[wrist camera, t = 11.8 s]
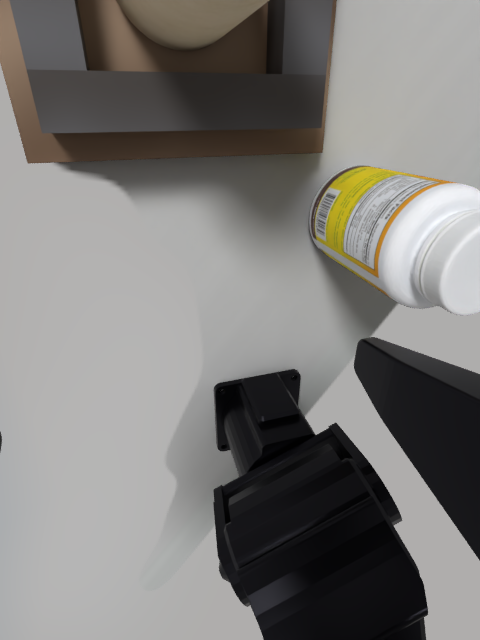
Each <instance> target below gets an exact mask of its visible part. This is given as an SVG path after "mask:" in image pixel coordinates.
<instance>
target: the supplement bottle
mask: <svg viewBox="0 0 480 640" xmlns="http://www.w3.org/2000/svg"><path fill="white" fill-rule="evenodd" d="M309 226H310V232H311V236H312V238H313V241H314V242H315V244H316V246H317V247H318V248H319V249H320V250H321V251H322V252H323V253H324V254H326V255H327V256H329V257H330V258H332V259H333V260H334V261H336V262H338V263H339V264H341V265H342V266H344V267H345V268H346V269H348V270H349V271H351V272H352V273H354V274H356V275H357V276H359V277H360V278H362V279H363V280H365V281H366V282H368V283H369V284H371V285H372V286H374V287H375V288H377V289H378V290H379V291H381V292H382V293H384V294H385V295H387V296H388V297H390V298H391V299H393V300H394V301H396V302H398V303H400V304H402V305H404V306H407V307H412V308H430V307H434V306H440V307H442V308H444V309H445V310H447V311H449V312H450V313H453V314H456V315H462V316H463V315H473V314H476V313H479V312H480V191H479V190H478V189H476V188H474V187H471V186H468V185H464V184H460V183H455V182H449V181H444V180H438V179H433V178H428V177H423V176H417V175H412V174H407V173H402V172H396V171H391V170H385V169H380V168H375V167H370V166H353V167H349V168H346V169H343V170H341V171H339V172H337V173H336V174H334V175H333V176H332V177H330V178H329V179H328V180H327V181H326V182H325V183H324V184H323V185H322V187H321V188H320V189H319V191H318V193H317V194H316V196H315V198H314V201H313V203H312V206H311V210H310V216H309Z"/></svg>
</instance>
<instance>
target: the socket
mask: <svg viewBox="0 0 480 640" xmlns="http://www.w3.org/2000/svg"><path fill="white" fill-rule="evenodd" d="M336 1H337V0H269V1H268V2H267V3H265V4H264V5H263V6H261V7H260V8H259V9H258V10H256V11H255V12H254V13H252V14H251V15H250V16H249V17H247V18H246V19H245V20H243V21H242V22H241V23H240V24H238V25H237V26H236V27H234V28H233V29H232V30H231V31H229V32H228V33H227V34H225V35H224V36H223V37H222V38H220V39H219V40H217V41H216V42H214V43H212V44H211V45H209V46H207V47H204V48H201V49H198V50H193V51H180V50H173V49H170V48H167V47H164V46H162V45H160V44H157V43H156V42H154V41H152V40H151V39H149V38H148V37H146V36H145V35H144V34H143V33H142V32H140V31H139V30H138V29H137V28H136V27H135V26H134V25H133V24H132V22H131V21H130V20H129V19H128V17H127V16H126V15H125V13H124V12H123V10H122V9H121V7H120V5H119V4H118V2H117V0H0V63H1V66H2V70H3V74H4V78H5V81H6V85H7V88H8V92H9V96H10V100H11V103H12V107H13V111H14V114H15V118H16V122H17V125H18V129H19V132H20V136H21V140H22V144H23V148H24V151H25V155H26V159H27V162H28V163H51V162H79V161H106V160H133V159H160V158H188V157H215V156H242V155H269V154H297V153H322V150H323V140H324V129H325V118H326V108H327V97H328V86H329V76H330V65H331V54H332V44H333V33H334V22H335V12H336Z"/></svg>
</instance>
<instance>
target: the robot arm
mask: <svg viewBox="0 0 480 640" xmlns="http://www.w3.org/2000/svg"><path fill="white" fill-rule="evenodd" d="M354 369H355V372H356V374H357V376H358V378H359V380H360V381H361V383H362V385H363V387H364V389H365V391H366V392H367V394H368V396H369V398H370V399H371V401H372V403H373V405H374V407H375V409H376V410H377V412H378V414H379V415H380V417H381V419H382V420H383V422H384V423H385V425H386V426H387V428H388V429H389V431H390V432H391V434H392V435H393V436H394V438H395V439H396V441H397V442H398V443H399V445H400V446H401V448H402V449H403V451H404V452H405V454H406V455H407V456H408V458H409V459H410V461H411V462H412V464H413V465H414V467H415V468H416V469H417V471H418V472H419V474H420V475H421V477H422V478H423V479H424V481H425V482H426V484H427V485H428V487H429V488H430V490H431V491H432V492H433V494H434V495H435V497H436V498H437V500H438V501H439V503H440V504H441V505H442V507H443V508H444V510H445V511H446V513H447V514H448V515H449V517H450V518H451V520H452V521H453V523H454V524H455V526H456V527H457V528H458V530H459V531H460V533H461V534H462V536H463V537H464V538H465V540H466V541H467V543H468V544H469V546H470V547H471V549H472V550H473V551H474V553H475V554H476V556H477V557H478V559H479V560H480V374H478V373H475V372H472V371H469V370H466V369H464V368H461V367H458V366H455V365H452V364H449V363H446V362H444V361H441V360H438V359H435V358H432V357H429V356H427V355H424V354H421V353H418V352H415V351H412V350H410V349H407V348H404V347H401V346H398V345H395V344H392V343H390V342H387V341H384V340H381V339H378V338H375V337H371V338H365V339H361V340H360V341H359V342H358V345H357V350H356V355H355V361H354ZM294 375H295V376H294ZM292 376H294V377H292ZM291 377H292V378H291ZM299 388H300V374H299V372H298V371H297V370H295V369H292V370H287V371H281V372H276V373H271V374H265V375H260V376H255V377H249V378H244V379H239V380H233V381H228V382H223V383H219V384H217V385H216V386H215V387H214V403H215V421H216V439H217V447H218V450H220V451H227V450H231V453H232V456H233V459H234V462H235V465H236V468H237V471H238V474H239V478H237V479H235V480H233V481H231V482H230V483H228V484H226V485H224V486H222V485H221V486H219V487H217V488H215V489H214V501H215V502H214V515H215V527H216V539H217V550H218V557H219V560H220V563H219V571H220V574H221V576H222V578H223V579H225V580H226V581H228V582H230V583H231V585H232V588H233V589H234V591H235V593H236V595H237V597H238V598H239V600H240V601H241V602H242V603H243V604H244V605H245V606H247V607H248V606H249V605H251V608H252V610H253V612H254V615H255V617H256V620H257V622H258V624H259V627H260V630H261V632H262V635H263V638H264V640H426V634H425V625H424V617H425V616H427V615H428V608H427V602H426V596H425V590H424V584H423V581H422V579H421V577H420V574H419V570H418V568H417V566H416V564H415V562H414V560H413V559H412V557H411V555H410V553H409V552H408V550H407V548H406V547H405V545H404V543H403V542H402V540H401V538H400V537H399V535H398V533H397V531H396V530H395V528H394V526H393V525H395V524H397V523H399V522H400V521H402V518H401V515H400V512H399V510H398V508H397V506H396V504H395V502H394V501H393V499H392V497H391V495H390V494H389V492H388V490H387V489H386V487H385V485H384V484H383V482H382V480H381V479H380V477H379V476H378V474H377V473H376V471H375V470H374V468H373V467H372V466H371V464H370V463H369V462H368V460H367V459H366V458H365V457H364V455H363V454H362V453H361V452H360V451H359V450H358V448H357V447H356V446H355V445H354V443H353V442H352V441H351V440H350V439H349V438H348V436H347V435H346V434H345V433H344V431H343V430H342V429H341V428H340V427H339V426H338V424H337V423H334V424H332V425H330V426H329V428H328V429H326V430H325V431H323V432H321V433H319V434H317V435H315V434H314V432H313V430H312V428H311V427H310V425H309V424H308V422H307V420H306V419H305V417H304V415H303V414H302V412H301V410H300V409H299V407H298V398H299ZM221 389H224V390H223V391H219V390H221ZM1 444H2V436H1V432H0V450H1ZM224 444H225V445H224Z"/></svg>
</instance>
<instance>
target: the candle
mask: <svg viewBox="0 0 480 640" xmlns="http://www.w3.org/2000/svg"><path fill="white" fill-rule="evenodd" d="M268 1H269V0H117V2H118V4H119V5H120V7H121V9H122V10H123V12H124V13H125V15H126V16H127V17H128V19H129V20H130V21H131V22H132V24H133V25H134V26H135V27H136V28H137V29H138V30H139V31H140V32H142V33H143V34H144V35H145V36H146V37H148V38H149V39H151V40H152V41H154V42H156V43H157V44H160V45H162V46H164V47H167V48H170V49H173V50H180V51H193V50H198V49H201V48H204V47H207V46H209V45H211V44H212V43H214V42H216V41H217V40H219V39H220V38H222V37H223V36H224V35H225V34H227V33H228V32H229V31H231V30H232V29H233V28H234V27H236V26H237V25H238V24H240V23H241V22H242V21H243V20H245V19H246V18H247V17H249V16H250V15H251V14H252V13H254V12H255V11H256V10H258V9H259V8H260V7H261V6H263V5H264V4H265V3H267V2H268Z"/></svg>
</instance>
